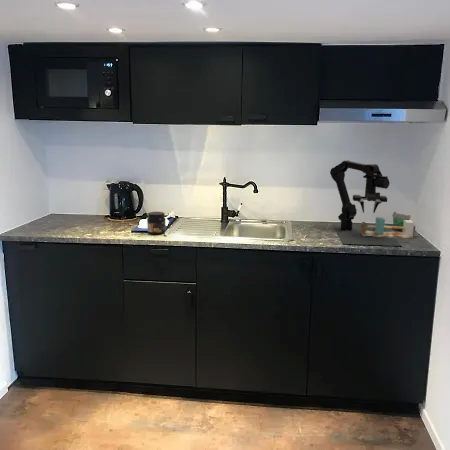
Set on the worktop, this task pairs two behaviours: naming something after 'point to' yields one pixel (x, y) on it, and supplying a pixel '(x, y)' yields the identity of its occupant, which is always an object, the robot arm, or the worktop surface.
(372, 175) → the robot arm
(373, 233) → the comb board
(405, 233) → the connector block
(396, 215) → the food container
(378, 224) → the sleeve
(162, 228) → the supplement container
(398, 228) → the fibre cord
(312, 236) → the worktop surface
